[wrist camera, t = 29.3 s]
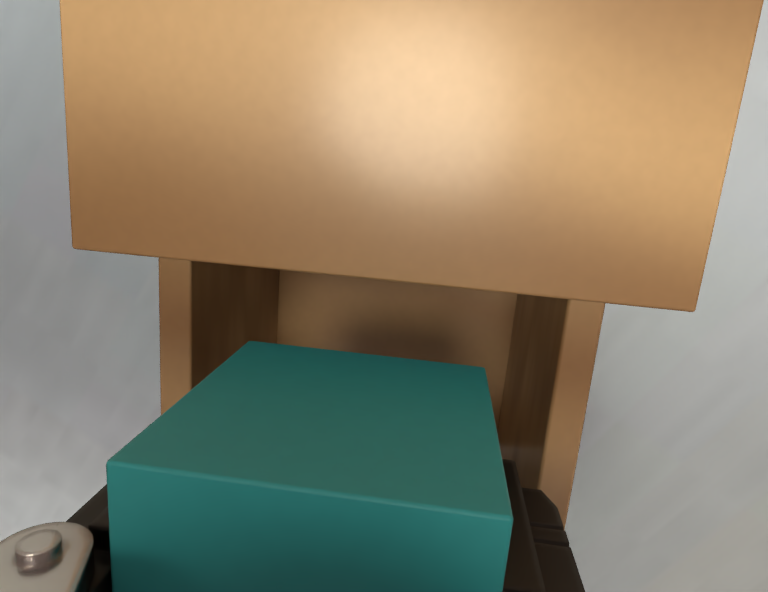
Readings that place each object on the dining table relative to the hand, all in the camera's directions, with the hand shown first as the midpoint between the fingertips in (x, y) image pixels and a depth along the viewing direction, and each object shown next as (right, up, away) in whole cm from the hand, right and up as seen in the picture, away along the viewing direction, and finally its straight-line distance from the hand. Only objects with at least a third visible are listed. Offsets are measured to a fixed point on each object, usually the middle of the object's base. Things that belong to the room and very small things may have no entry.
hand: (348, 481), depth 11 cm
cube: (0, 0, +1) cm, 1 cm away
